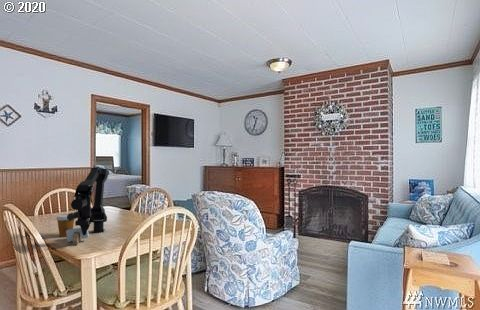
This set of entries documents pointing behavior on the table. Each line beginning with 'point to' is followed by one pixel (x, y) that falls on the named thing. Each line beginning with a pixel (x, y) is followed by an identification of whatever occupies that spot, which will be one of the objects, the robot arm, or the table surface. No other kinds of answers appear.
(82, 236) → the notched blue slab
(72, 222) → the disposable coffee cup
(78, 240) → the notched wooden post
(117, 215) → the table surface
